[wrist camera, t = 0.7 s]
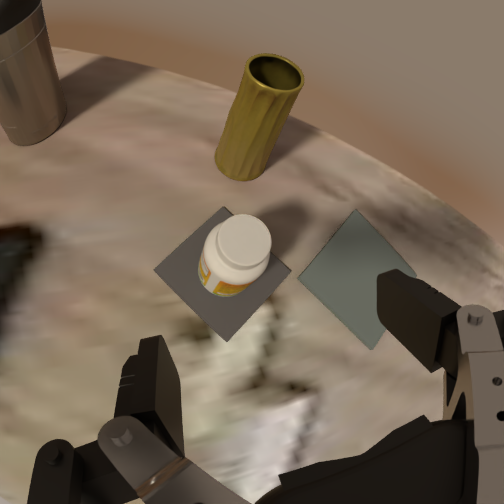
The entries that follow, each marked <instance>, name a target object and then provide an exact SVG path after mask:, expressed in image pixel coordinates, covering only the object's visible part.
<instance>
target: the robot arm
mask: <svg viewBox="0 0 504 504" xmlns="http://www.w3.org/2000/svg"><path fill="white" fill-rule="evenodd" d="M66 110H67V107H66V101H65V98H64V95H63V91H62V88H61V84H60V80H59V77H58V73H57V69H56V66H55V62H54V58H53V54H52V50H51V45H50V42H49V37H48V32H47V27H46V22H45V18H44V13H43V7H42V1H41V0H0V124H1V125H2V127H3V129H4V131H5V132H6V134H7V136H8V137H9V139H10V141H11V142H13V143H14V144H16V145H20V146H26V145H32V144H35V143H37V142H39V141H41V140H43V139H45V138H46V137H48V136H49V135H51V134H52V133H53V132H54V131H55V130H56V129H57V128H58V127H59V125H60V124H61V122H62V121H63V119H64V117H65V115H66ZM377 315H378V318H379V320H380V322H381V324H382V325H383V326H384V327H385V328H386V329H387V330H388V331H389V332H390V333H391V334H392V335H393V336H394V337H395V338H396V339H397V340H398V341H400V342H401V343H402V344H403V345H404V346H405V347H406V348H407V349H408V350H409V351H410V352H411V353H412V354H413V355H414V356H415V357H416V358H417V359H418V360H419V361H420V362H421V363H422V364H423V365H424V366H425V367H426V368H427V369H428V370H429V371H430V373H432V372H434V371H436V370H438V369H440V368H441V367H443V368H444V369H445V371H444V375H443V418H442V420H439V421H434V422H430V421H429V420H428V419H427V418H426V417H425V415H422V416H420V417H418V418H416V419H415V420H413V421H411V422H409V423H407V424H405V425H403V426H401V427H399V428H397V429H395V430H393V431H392V432H391V433H389V434H388V435H387V436H386V437H385V438H383V439H382V440H381V441H379V442H378V443H377V444H376V445H374V446H373V447H372V448H370V449H369V450H368V451H366V452H365V453H363V454H361V455H358V456H353V457H348V458H343V459H337V460H330V461H324V462H318V463H315V464H312V465H309V466H306V467H303V468H300V469H297V470H293V471H290V472H287V473H283V474H280V475H278V476H279V479H280V482H281V485H279V486H277V487H276V488H274V489H272V490H271V491H269V492H268V493H266V494H265V495H264V496H262V497H261V498H260V499H259V500H258V501H257V502H256V503H255V504H504V310H501V311H497V312H494V313H492V312H491V311H490V310H489V309H487V308H485V307H483V306H480V305H466V306H463V307H461V306H460V305H458V304H457V303H456V302H454V301H453V300H451V299H450V298H448V297H447V296H445V295H444V294H442V293H441V292H438V290H436V289H435V288H433V287H431V286H430V285H429V284H427V283H426V282H424V281H423V280H420V279H417V278H413V277H409V276H408V275H406V274H405V273H403V272H402V271H400V270H398V269H392V270H390V271H387V272H384V273H381V274H379V275H378V276H377ZM119 386H120V388H119V389H118V395H117V401H116V407H115V413H114V419H112V420H110V421H108V422H107V423H106V424H105V425H104V426H103V427H102V428H101V430H100V431H99V434H98V440H96V441H93V442H91V443H88V444H85V445H83V446H80V447H77V448H74V447H73V446H72V445H71V444H70V443H69V442H68V441H66V440H63V439H55V440H52V441H49V442H47V443H46V444H45V445H43V446H42V447H41V448H40V450H39V451H38V453H37V456H36V459H35V464H34V469H33V473H32V478H31V484H30V489H29V495H28V501H27V504H124V503H127V502H129V501H132V500H135V499H138V498H141V499H142V501H143V502H144V503H145V504H251V503H249V502H248V501H246V500H245V499H243V498H242V497H240V496H239V495H237V494H236V493H234V492H233V491H231V490H230V489H228V488H227V487H225V486H224V485H223V484H221V483H220V482H218V481H217V480H216V479H214V478H213V477H211V476H210V475H209V474H207V473H206V472H205V471H203V470H202V469H201V468H199V467H198V466H197V465H196V464H194V463H193V462H192V461H190V460H189V459H187V458H186V457H185V453H184V440H183V425H182V408H181V387H180V379H179V375H178V372H177V369H176V366H175V364H174V362H173V359H172V357H171V355H170V352H169V350H168V348H167V345H166V343H165V340H164V338H163V337H162V335H158V336H153V337H149V338H144V339H141V340H140V344H139V350H138V354H137V355H133V356H130V357H129V358H128V360H127V361H126V363H125V364H124V366H123V368H122V374H121V379H120V384H119ZM182 457H183V458H182Z"/></svg>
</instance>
